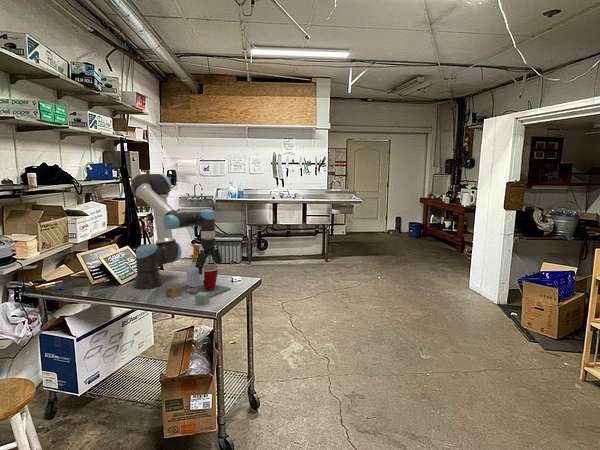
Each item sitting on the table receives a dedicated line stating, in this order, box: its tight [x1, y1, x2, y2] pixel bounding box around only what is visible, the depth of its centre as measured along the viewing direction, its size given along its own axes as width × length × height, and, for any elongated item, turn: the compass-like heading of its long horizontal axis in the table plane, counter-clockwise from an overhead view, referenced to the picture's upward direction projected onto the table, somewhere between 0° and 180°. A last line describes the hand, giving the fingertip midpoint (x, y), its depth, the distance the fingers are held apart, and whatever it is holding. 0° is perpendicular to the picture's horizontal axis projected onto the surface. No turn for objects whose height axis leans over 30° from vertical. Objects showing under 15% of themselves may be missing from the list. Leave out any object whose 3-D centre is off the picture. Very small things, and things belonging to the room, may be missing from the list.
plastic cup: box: [203, 263, 220, 289], centre depth 204 cm, size 11×11×12 cm
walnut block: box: [165, 285, 181, 299], centre depth 197 cm, size 5×5×5 cm
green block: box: [194, 292, 210, 306], centre depth 186 cm, size 5×5×5 cm
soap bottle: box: [186, 243, 204, 288], centre depth 214 cm, size 9×9×25 cm
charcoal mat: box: [188, 284, 231, 299], centre depth 205 cm, size 16×16×1 cm
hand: (209, 277), depth 204 cm, fingers closed on plastic cup, 11 cm apart
